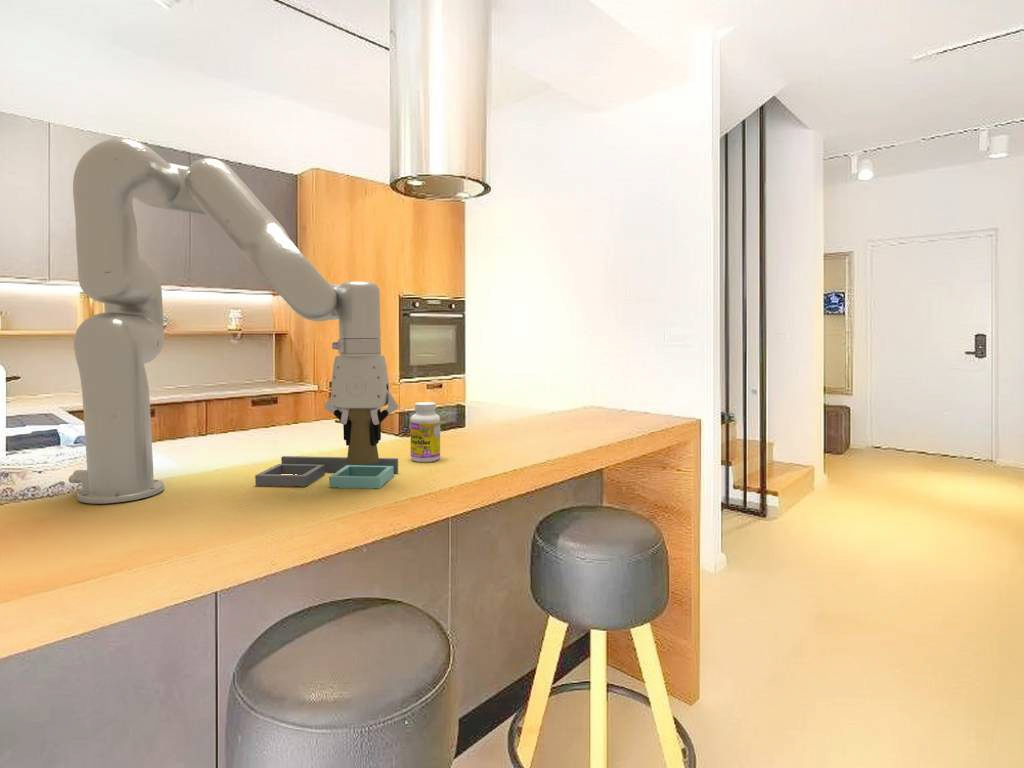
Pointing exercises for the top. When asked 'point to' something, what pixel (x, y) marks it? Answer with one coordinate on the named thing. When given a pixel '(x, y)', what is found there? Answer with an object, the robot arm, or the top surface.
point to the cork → (361, 438)
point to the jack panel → (317, 466)
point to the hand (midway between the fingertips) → (362, 443)
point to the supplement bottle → (425, 433)
